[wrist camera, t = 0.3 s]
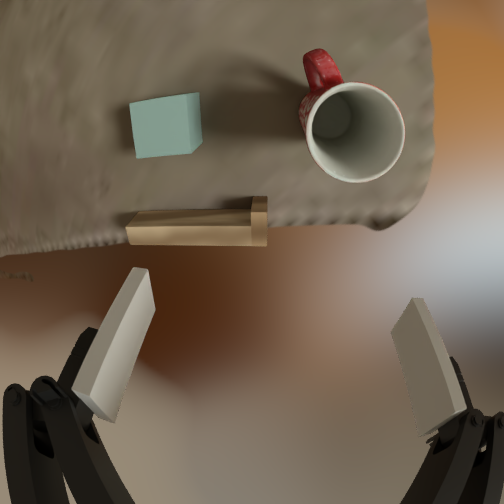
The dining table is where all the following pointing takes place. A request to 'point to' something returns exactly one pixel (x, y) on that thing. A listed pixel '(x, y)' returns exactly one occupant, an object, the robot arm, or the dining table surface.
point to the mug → (348, 123)
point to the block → (166, 125)
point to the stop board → (201, 226)
